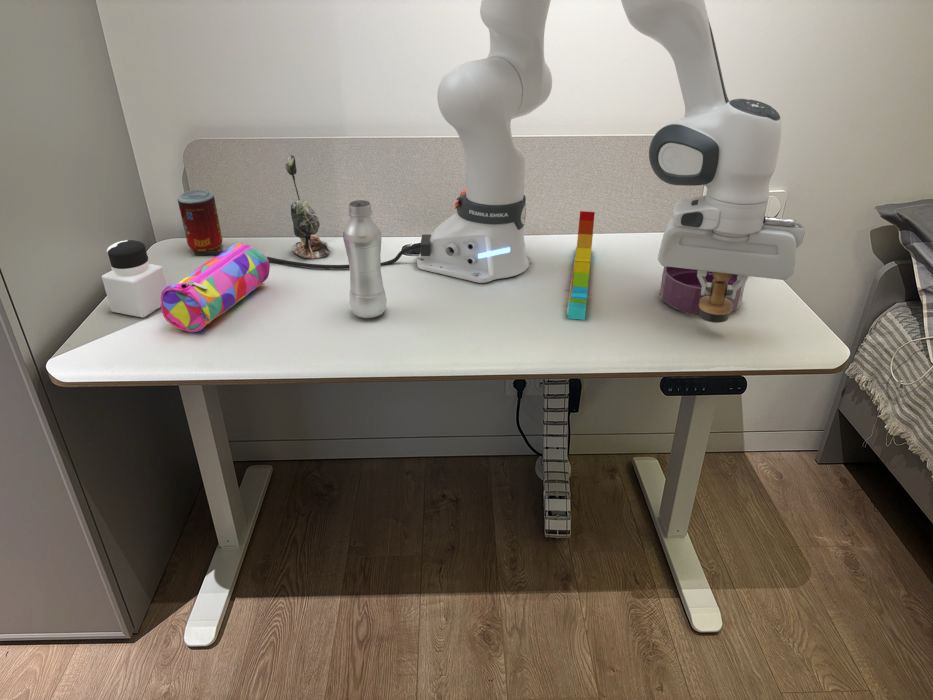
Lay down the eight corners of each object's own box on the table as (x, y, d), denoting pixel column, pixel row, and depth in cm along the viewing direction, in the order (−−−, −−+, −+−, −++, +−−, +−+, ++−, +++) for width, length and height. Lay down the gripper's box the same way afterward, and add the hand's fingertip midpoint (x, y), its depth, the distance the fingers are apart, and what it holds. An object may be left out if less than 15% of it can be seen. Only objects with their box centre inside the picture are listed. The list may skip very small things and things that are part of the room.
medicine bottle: (171, 301, 127) (156, 239, 120) (143, 318, 121) (126, 254, 115) (139, 295, 129) (123, 234, 122) (110, 312, 123) (92, 249, 117)
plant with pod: (285, 264, 141) (271, 166, 130) (297, 243, 150) (284, 150, 140) (325, 264, 141) (314, 166, 130) (334, 242, 150) (324, 149, 140)
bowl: (656, 312, 123) (660, 283, 120) (662, 279, 134) (666, 253, 131) (740, 323, 119) (746, 294, 116) (739, 289, 130) (745, 262, 127)
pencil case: (209, 341, 114) (198, 291, 109) (160, 333, 116) (147, 284, 112) (276, 285, 132) (269, 241, 127) (233, 279, 134) (225, 235, 130)
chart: (575, 251, 146) (581, 181, 138) (590, 252, 146) (597, 181, 138) (566, 318, 120) (572, 237, 113) (584, 320, 120) (592, 238, 112)
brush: (697, 307, 117) (707, 255, 112) (730, 311, 116) (741, 259, 111) (696, 321, 113) (706, 268, 108) (730, 325, 111) (741, 272, 107)
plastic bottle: (358, 325, 118) (347, 213, 108) (345, 309, 124) (333, 200, 113) (393, 317, 121) (386, 206, 111) (379, 302, 126) (371, 194, 116)
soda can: (188, 246, 149) (176, 190, 143) (222, 241, 151) (212, 186, 145) (189, 258, 143) (177, 200, 137) (225, 253, 145) (214, 196, 139)
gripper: (805, 213, 105) (785, 295, 112) (666, 200, 111) (655, 280, 118) (809, 228, 100) (787, 313, 107) (663, 213, 106) (651, 295, 113)
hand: (717, 295), depth 112 cm, fingers closed on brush, 2 cm apart
